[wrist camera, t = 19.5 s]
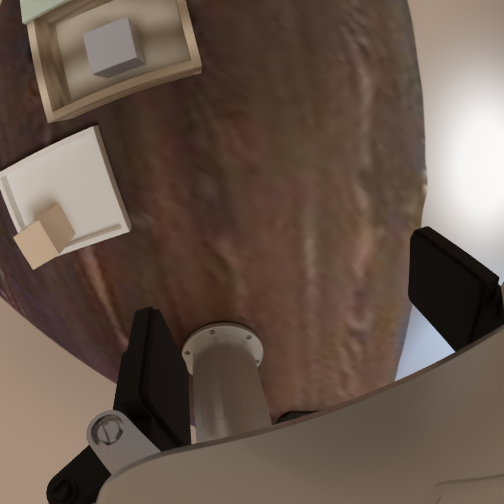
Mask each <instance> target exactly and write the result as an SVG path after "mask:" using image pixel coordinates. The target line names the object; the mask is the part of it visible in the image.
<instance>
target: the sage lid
mask: <svg viewBox="0 0 504 504" xmlns="http://www.w3.org/2000/svg"><path fill="white" fill-rule="evenodd" d="M69 1H71V0H20V4H21V13H22V21H23V24H27V23H29V22H31V21H33V20H34V19H36V18H38V17H40V16H41V15H43V14H45V13H47V12H49V11H51V10H53V9H55V8H57V7H59V6H61V5H63V4H65V3H67V2H69Z"/></svg>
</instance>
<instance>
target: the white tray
mask: <svg viewBox="0 0 504 504" xmlns="http://www.w3.org/2000/svg"><path fill="white" fill-rule="evenodd" d="M0 190H1V192H2V195H3V198H4V200H5V203H6V206H7V208H8V211H9V213H10V216H11V218H12V220H13V223H14V225H15V227H16V230H17V232H18V233H19V232H20V231H21V230H22V229H23V228H24V227H25V226H26V225H28V224H29V223H30V222H31V221H32V220H33V219H35V218H36V217H38V216H39V215H41V214H42V213H44V212H45V211H47V210H48V209H50V208H51V207H53V206H55V205H56V204H58V203H59V204H60V206H61V208H62V210H63V212H64V214H65V215H66V217H67V219H68V221H69V222H70V224H71V226H72V228H73V229H74V231H75V233H76V234H75V235H74V236H73V238H72V239H71V240H70V241H69V243H68V244H67V245H66V247H65V248H64V249H63V251H62V252H61V253H60V254H59V255H62V254H65V253H68V252H71V251H73V250H76V249H79V248H82V247H85V246H88V245H91V244H94V243H97V242H100V241H103V240H106V239H109V238H112V237H115V236H118V235H121V234H124V233H127V232H129V231H130V229H131V227H132V224H131V221H130V219H129V216H128V213H127V211H126V208H125V205H124V202H123V200H122V197H121V194H120V191H119V188H118V186H117V183H116V180H115V177H114V174H113V171H112V168H111V165H110V162H109V159H108V156H107V153H106V149H105V146H104V143H103V140H102V137H101V133H100V130H99V127H98V125H96V126H92V127H90V128H88V129H85V130H83V131H81V132H78V133H76V134H74V135H72V136H69V137H67V138H65V139H63V140H61V141H59V142H56V143H54V144H52V145H50V146H48V147H46V148H44V149H42V150H40V151H38V152H36V153H34V154H32V155H30V156H28V157H27V158H25V159H23V160H21V161H19V162H17V163H15V164H14V165H12V166H10V167H8V168H6V169H5V170H3V171H1V172H0ZM59 255H58V256H59Z"/></svg>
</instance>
